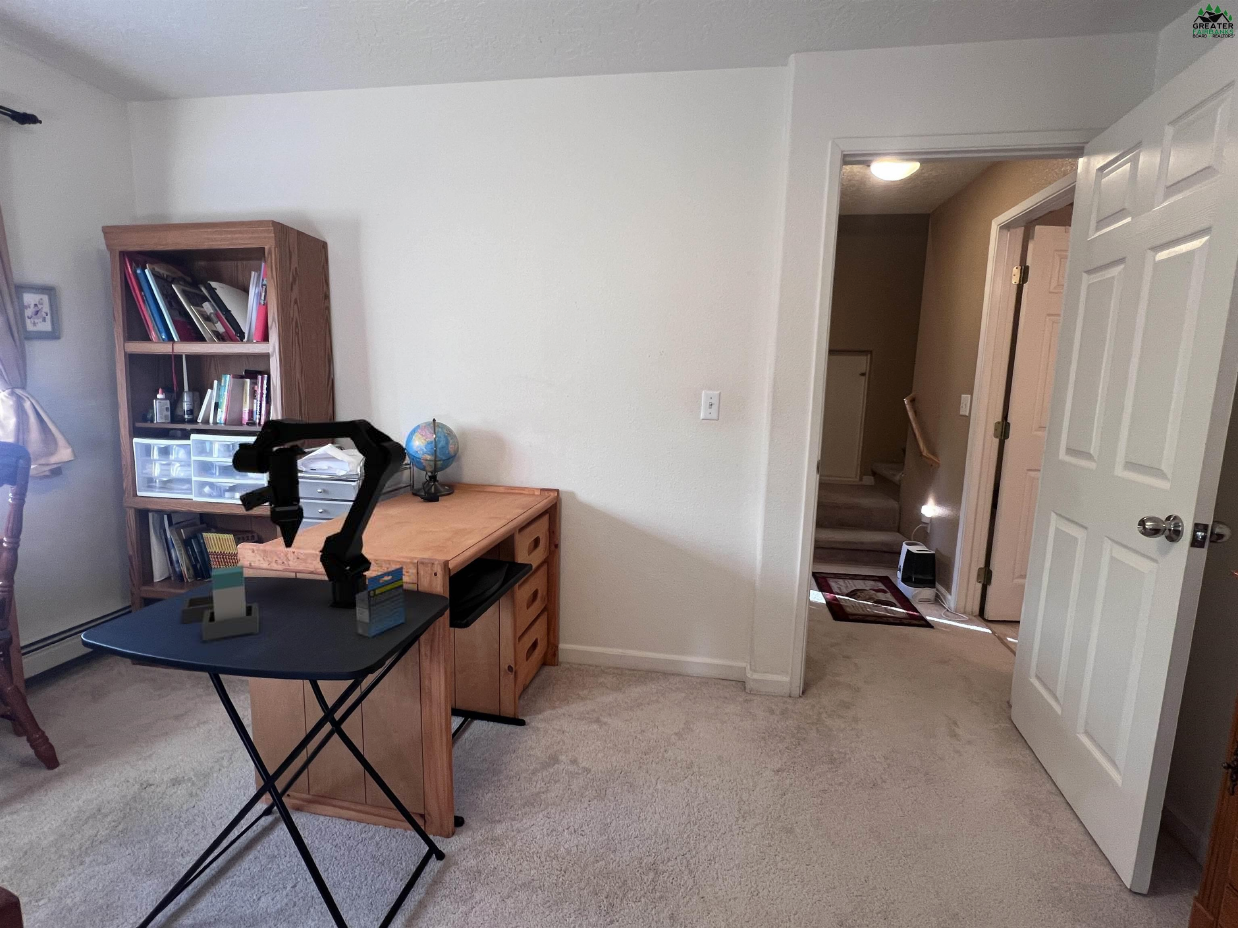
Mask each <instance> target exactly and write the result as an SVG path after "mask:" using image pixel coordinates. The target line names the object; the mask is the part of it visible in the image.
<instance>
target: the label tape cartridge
mask: <svg viewBox="0 0 1238 928" xmlns="http://www.w3.org/2000/svg"><path fill="white" fill-rule="evenodd" d="M403 571H404V566H400V567H397V568H394V569H391V570H388V571H386V572H382V573H379V574H376V575H373V576H371V577H368V578H367V591H364V592H362V593H359V594H357V595H356V608H355V609H356V628H357V633H356V634H358V635H360V636H364V637H366V638H372V637H374V636H377V635H379V634H381V633H383V632H385V631H387V630H389V629H391V628H393V627H396V626H398V625H400V624H403V623H405V621H406V620H405V619H406V618H405V617H406V616H405V598H404V597H405V596H404V595H405V594H404V593H405V592H404V575H403V574H404V572H403ZM385 577H387V578H388V579H385V580H383V579H384V578H385ZM389 577H390V578H389ZM381 580H383V581H381Z"/></svg>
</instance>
